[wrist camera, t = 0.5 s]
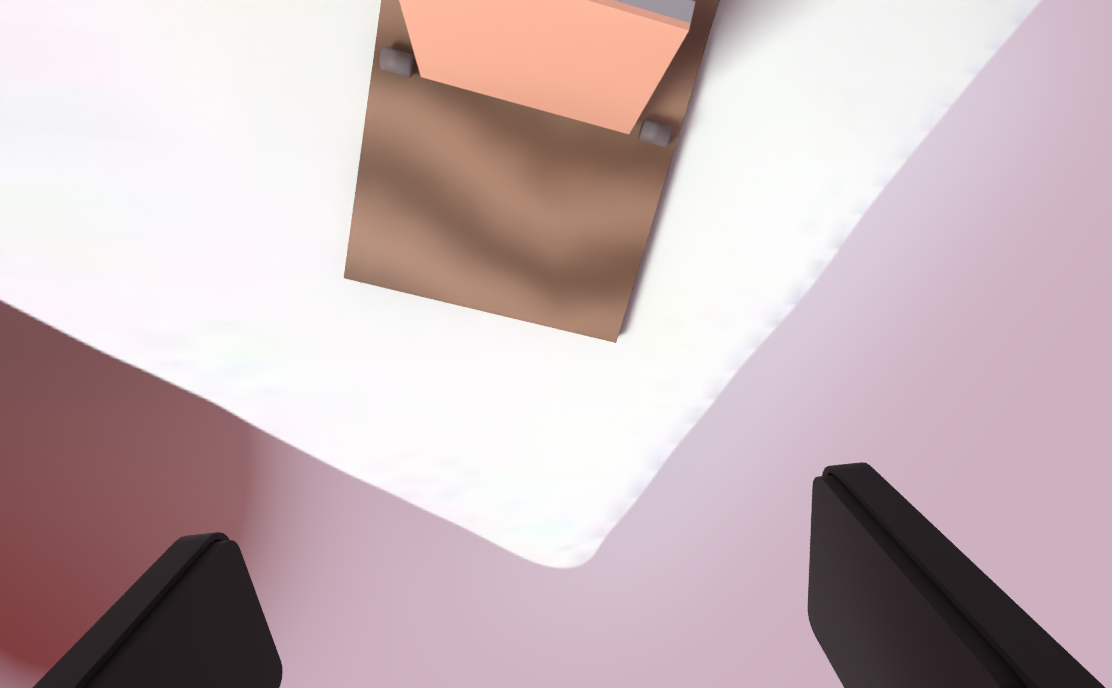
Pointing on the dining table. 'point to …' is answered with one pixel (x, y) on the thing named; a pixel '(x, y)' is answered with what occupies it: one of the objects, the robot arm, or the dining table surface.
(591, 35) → the tile
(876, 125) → the dining table surface
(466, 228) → the hinge board
